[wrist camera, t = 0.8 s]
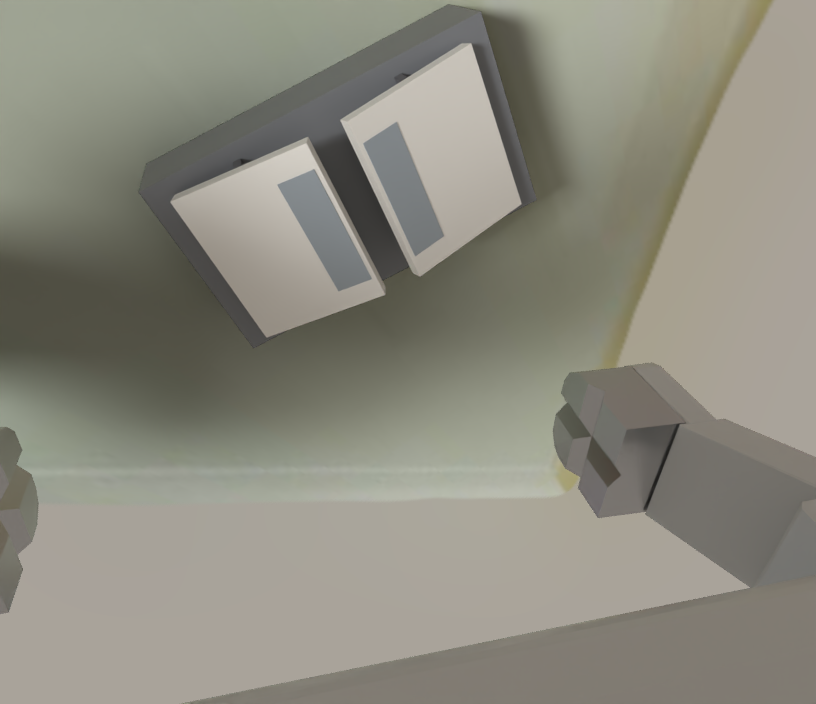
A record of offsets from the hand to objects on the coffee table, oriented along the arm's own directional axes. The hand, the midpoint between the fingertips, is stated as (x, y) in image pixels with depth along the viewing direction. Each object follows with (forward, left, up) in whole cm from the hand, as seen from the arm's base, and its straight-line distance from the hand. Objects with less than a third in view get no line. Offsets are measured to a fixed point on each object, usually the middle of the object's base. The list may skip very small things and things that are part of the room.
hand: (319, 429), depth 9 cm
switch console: (+3, -9, -37) cm, 39 cm away
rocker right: (+9, -9, -29) cm, 32 cm away
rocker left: (-2, -9, -29) cm, 31 cm away
